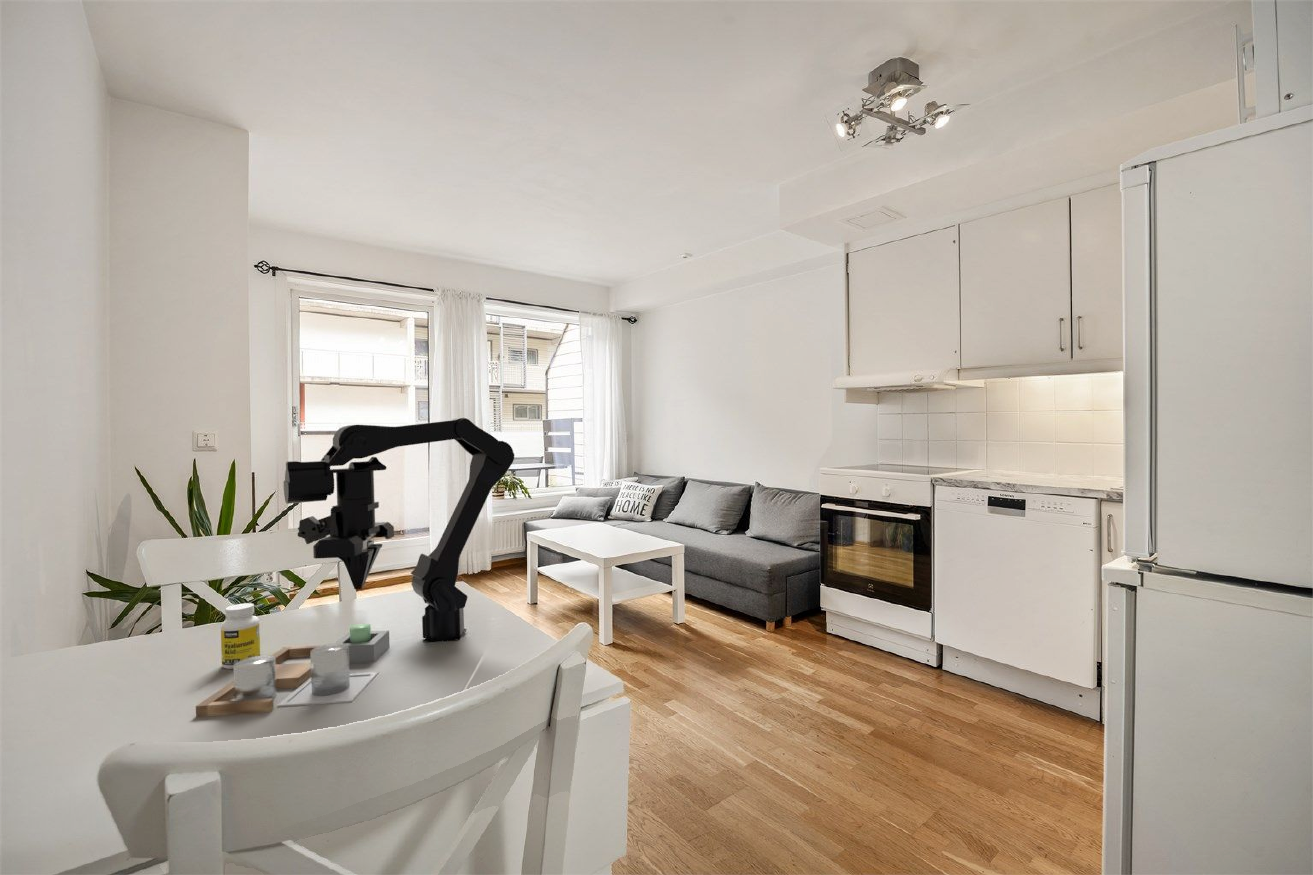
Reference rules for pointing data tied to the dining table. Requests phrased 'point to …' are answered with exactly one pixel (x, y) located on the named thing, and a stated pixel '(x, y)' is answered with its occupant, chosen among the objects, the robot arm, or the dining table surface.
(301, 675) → the frame
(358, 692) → the tray
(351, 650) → the button housing
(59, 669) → the dining table surface
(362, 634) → the button
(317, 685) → the loose steel billet
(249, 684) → the seated steel billet
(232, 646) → the supplement bottle
